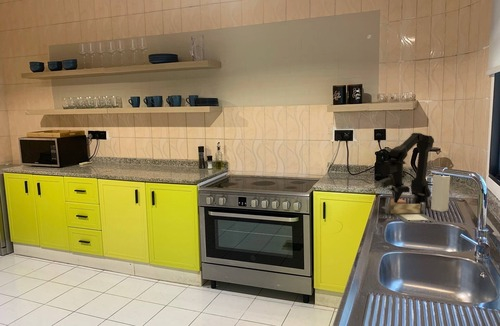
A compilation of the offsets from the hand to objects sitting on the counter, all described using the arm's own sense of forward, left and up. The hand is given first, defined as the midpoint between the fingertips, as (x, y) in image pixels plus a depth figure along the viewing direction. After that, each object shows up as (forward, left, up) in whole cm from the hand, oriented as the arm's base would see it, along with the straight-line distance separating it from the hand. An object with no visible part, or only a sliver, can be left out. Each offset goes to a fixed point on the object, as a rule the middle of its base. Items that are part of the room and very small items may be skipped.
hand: (395, 202), depth 208 cm
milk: (-26, -3, -6) cm, 27 cm away
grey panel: (-5, +4, -5) cm, 8 cm away
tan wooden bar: (-4, +4, -5) cm, 7 cm away
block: (-5, -7, -5) cm, 10 cm away
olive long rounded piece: (-4, +4, -5) cm, 8 cm away
